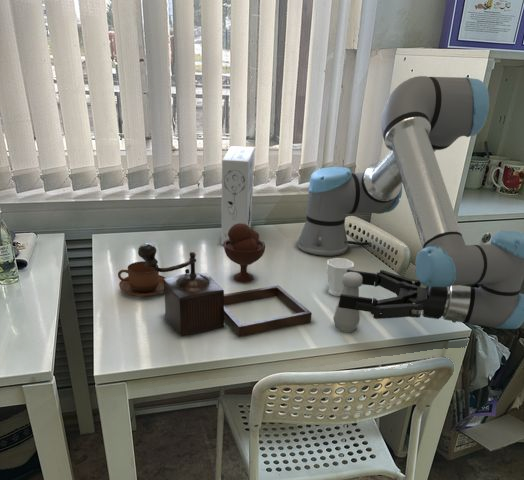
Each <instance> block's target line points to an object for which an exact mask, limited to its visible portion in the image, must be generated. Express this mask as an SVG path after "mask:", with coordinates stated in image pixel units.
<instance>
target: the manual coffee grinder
mask: <svg viewBox="0 0 524 480" xmlns="http://www.w3.org/2000/svg"><path fill="white" fill-rule="evenodd" d="M157 252H158V251H157V248H156V246H155V245H154V244H153V243H148V242H146V243H142V244H141V245H140V246H139V247H138V249H137V254H138V256H139V257H140V258H141V259H142V260H143V261H145V266H146V267H151V268H152V269H154V270H155V271H158V272H159V273H169V272H173V271H176V270H177V271H178V270H181V269H184V268H186V267H189V266H190V269H189V268H186V269H185V270H184V273H182V274H178V275H176V276H174V277H165V278H166V279H164V291H163V293H164V316H165V319H166V321H167V323H168V324H169V325H170V327H171V328H172V329H173V331H174V332H175V333H176V334H177V335H178V336H180V337H190V336H194V335H198V334H204V333H208V332H212V331H216V330H220V329H224V328H225V321H224V294H225V291H224V289H223V288H222V286H221V285H220V284H219V283H218V282H217V281H216V280H215V279H214V278H213V277H212V276H211V275H209V273H207V272H206V271H205V272H200V273H199V272H196V263H197V258H196V255H197V254H196V253H195V252H194V251H190V252H189V259H188V260H187V261H184V262H183V263H179V264H177V265H173V266H169V267H160V266H158V267H157V266H156V265H158V263H159V261H158V260H157V258H156V254H157Z"/></svg>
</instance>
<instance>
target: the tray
mask: <svg viewBox="0 0 524 480" xmlns="http://www.w3.org/2000/svg"><path fill="white" fill-rule="evenodd" d="M274 297H276V298H277V299H278V300H280V301H281V302H282V304H284V305H285V306H286V307H288V308H289V309H290V310H292V311H293V312H294V313H292V314H287V315H286V314H285V315H282V316H276V317H271V318H266V319H261V320H256V321H251V322H245V323H241V322H240V321H239V320H238V319H237V317H235V316H234V315H233V313H232V312H231V311H230V310H229V309H228V308H227V307H226V306H230V305H235V304H241V303H247V302H252V301H258V300H264V299H269V298H270V299H271V298H274ZM312 314H313V313H312V311H310V310H309V309H308V308H307V307H306V306H304V305H303V304H302V303H301V302H299V301H298V300H297V299H296V298H295V297H293V296H292V295H291V294H290V293H289V292H287V291H286V290H285V289H283V288H282V287H281V286H280V285H272V286H265V287H260V288H254V289H249V290H241V291H236V292H229V293H224V323H226V324H227V326H228V327H229V328H230V329H231V331H232V332H234V334H235V335H236V337H238V338H241V337H246V336H251V335H256V334H260V333H266V332H270V331H276V330H281V329H285V328H290V327H296V326H300V325H305V324H310V323H312V316H313V315H312Z"/></svg>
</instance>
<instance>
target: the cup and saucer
mask: <svg viewBox="0 0 524 480" xmlns="http://www.w3.org/2000/svg"><path fill="white" fill-rule="evenodd" d="M156 266H157V267H159V265H158V264H157V265H156ZM122 273H126V274H127V276H126V277H122ZM117 278H118V279H119V280H120V281H119V283H118V286H119V289H120V291H122V292H124V293H125V294H127V295H129V296H134V297H151V296H155V295H159V294H161V293H164V279H166V278H167V277H166V276H163V275H160V272H158V271H155V270H154V269H152V268H151V267H146V266H145V260H142V261H135V262H132V263H130V264H129V265H128V266H127V269H120V270H119V271H118V273H117Z"/></svg>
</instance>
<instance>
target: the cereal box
mask: <svg viewBox="0 0 524 480" xmlns="http://www.w3.org/2000/svg"><path fill="white" fill-rule="evenodd" d="M254 163H255V147H254V146H253V147H252V146H235V145H233V146H232V145H231V146H229V149H228V150H227V152H226V153H225V155H224V157H223V158H222V160H221V239H220V240H221V245H222V246H224V244H223V242H224V241H226V240H228V239H229V237H228V232H229V229H230V228H231V227H232V226H233V225H235V224H238V223H242V224H246V225H248V226H249V227H250V228H252V223H253V222H252V221H253V220H252V219H253V196H254V195H253V194H254V193H253V192H254V191H253V190H254V167H255V164H254Z"/></svg>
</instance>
